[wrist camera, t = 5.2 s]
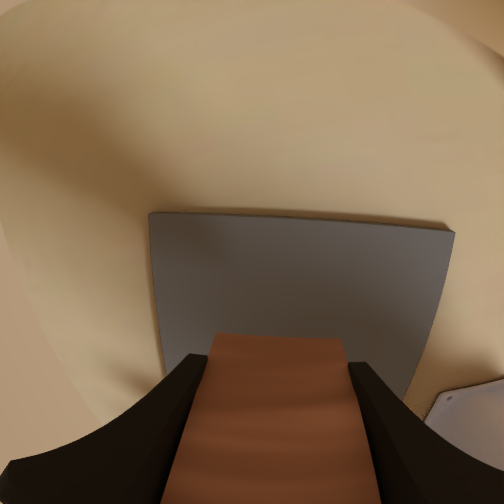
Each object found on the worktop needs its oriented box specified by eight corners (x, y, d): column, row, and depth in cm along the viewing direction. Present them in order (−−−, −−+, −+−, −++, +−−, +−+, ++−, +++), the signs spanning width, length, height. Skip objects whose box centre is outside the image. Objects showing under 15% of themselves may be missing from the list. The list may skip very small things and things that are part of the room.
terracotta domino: (216, 332, 11) (157, 510, 4) (340, 338, 10) (383, 516, 4) (217, 365, 11) (171, 530, 4) (332, 371, 11) (360, 537, 4)
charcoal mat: (451, 230, 14) (455, 232, 13) (333, 510, 25) (334, 513, 24) (152, 212, 15) (148, 213, 14) (200, 505, 26) (200, 508, 25)
